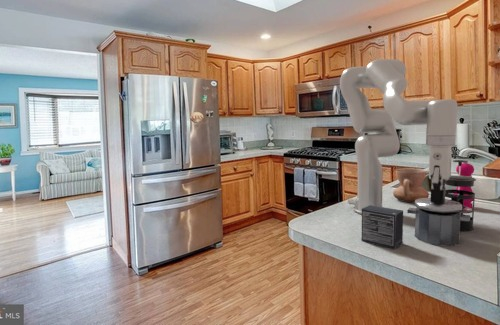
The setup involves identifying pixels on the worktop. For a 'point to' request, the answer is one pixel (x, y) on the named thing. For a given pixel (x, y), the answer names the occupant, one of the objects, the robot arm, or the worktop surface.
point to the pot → (438, 226)
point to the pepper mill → (465, 171)
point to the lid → (439, 205)
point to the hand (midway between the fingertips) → (437, 200)
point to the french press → (462, 195)
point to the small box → (382, 226)
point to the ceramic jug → (410, 184)
